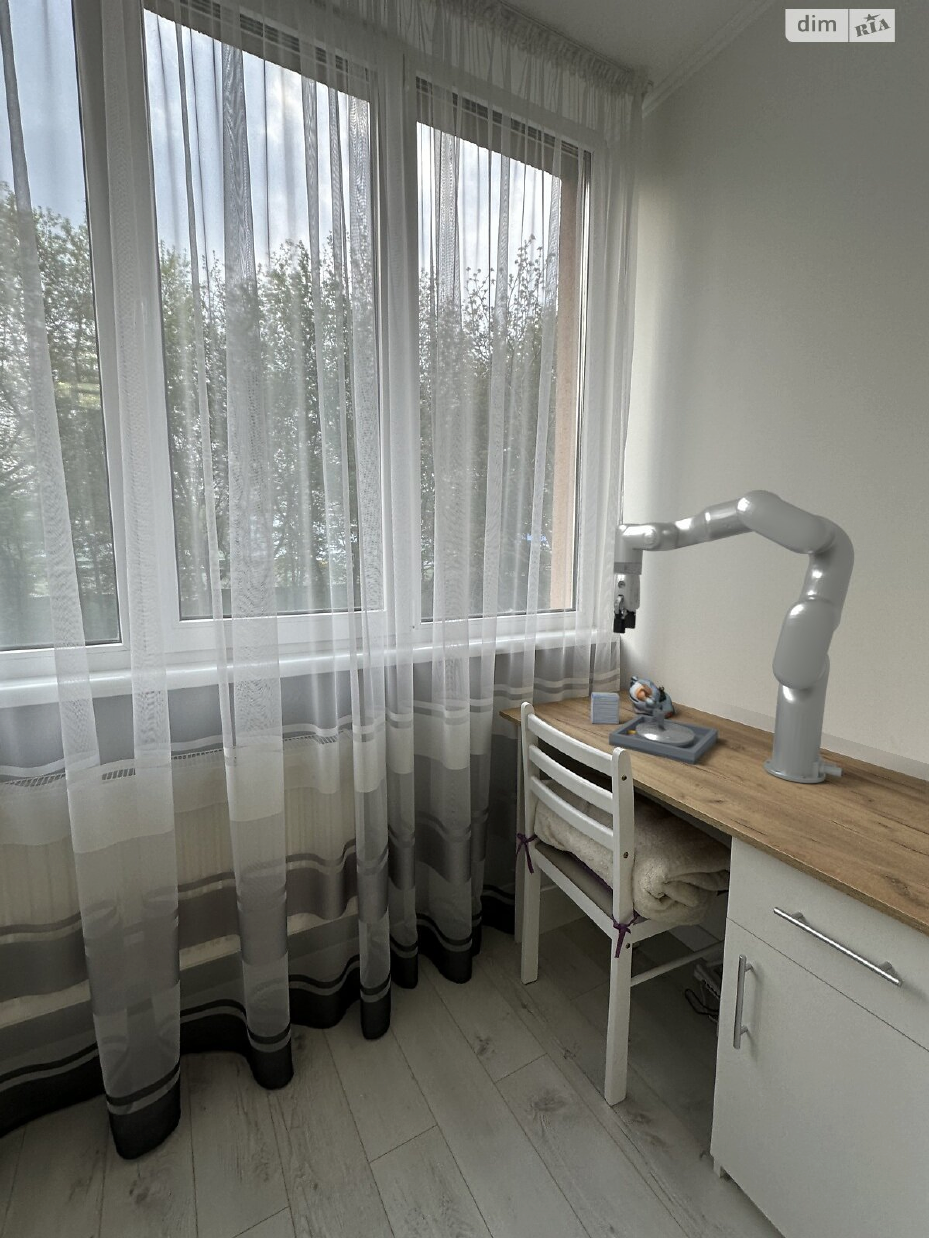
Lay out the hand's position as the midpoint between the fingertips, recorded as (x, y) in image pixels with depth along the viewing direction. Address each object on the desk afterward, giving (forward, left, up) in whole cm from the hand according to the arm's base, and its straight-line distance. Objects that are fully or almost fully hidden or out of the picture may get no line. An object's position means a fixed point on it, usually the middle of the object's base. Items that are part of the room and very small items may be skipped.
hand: (624, 630), depth 157 cm
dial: (-13, 0, -28) cm, 31 cm away
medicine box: (+7, -6, -30) cm, 31 cm away
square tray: (-13, 0, -29) cm, 32 cm away
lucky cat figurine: (-1, -23, -30) cm, 37 cm away
